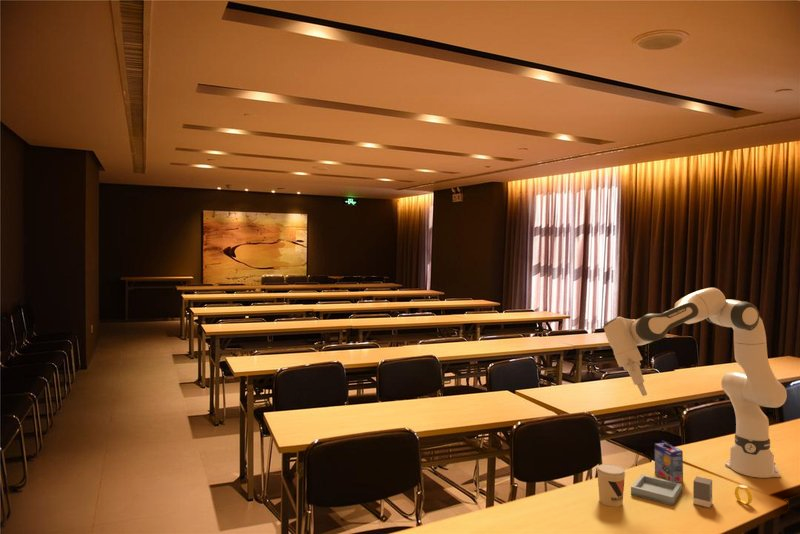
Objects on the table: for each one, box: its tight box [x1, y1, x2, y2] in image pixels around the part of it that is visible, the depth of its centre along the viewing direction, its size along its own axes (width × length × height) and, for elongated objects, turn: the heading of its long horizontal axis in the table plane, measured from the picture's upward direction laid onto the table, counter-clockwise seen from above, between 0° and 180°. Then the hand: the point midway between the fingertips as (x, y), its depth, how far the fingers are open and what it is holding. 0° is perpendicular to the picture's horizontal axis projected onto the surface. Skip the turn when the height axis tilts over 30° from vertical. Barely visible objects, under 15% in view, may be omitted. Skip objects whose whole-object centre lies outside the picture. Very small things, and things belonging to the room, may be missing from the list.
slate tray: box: [630, 474, 683, 506], centre depth 200 cm, size 14×14×3 cm
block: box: [692, 475, 713, 510], centre depth 191 cm, size 5×5×8 cm
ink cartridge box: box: [654, 439, 684, 483], centre depth 213 cm, size 10×6×14 cm, turn 15°
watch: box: [734, 484, 753, 505], centre depth 192 cm, size 6×3×6 cm, turn 15°
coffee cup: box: [596, 463, 626, 508], centre depth 193 cm, size 9×9×12 cm
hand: (644, 394), depth 202 cm, fingers open, 8 cm apart
